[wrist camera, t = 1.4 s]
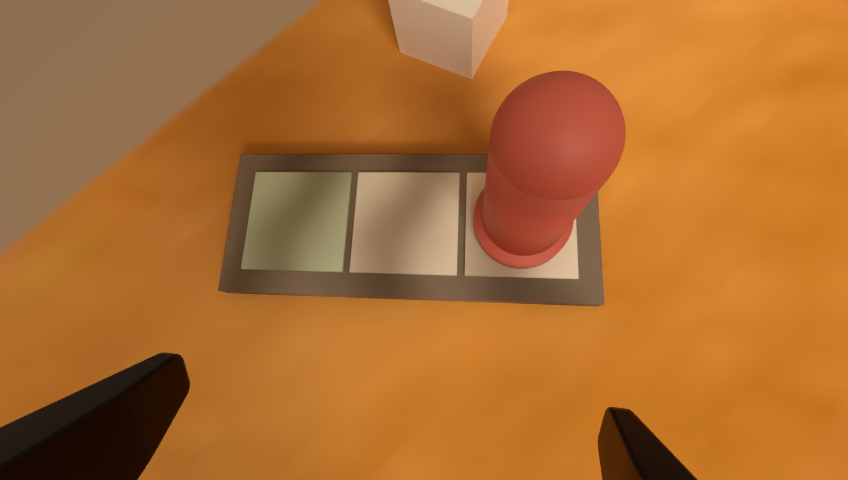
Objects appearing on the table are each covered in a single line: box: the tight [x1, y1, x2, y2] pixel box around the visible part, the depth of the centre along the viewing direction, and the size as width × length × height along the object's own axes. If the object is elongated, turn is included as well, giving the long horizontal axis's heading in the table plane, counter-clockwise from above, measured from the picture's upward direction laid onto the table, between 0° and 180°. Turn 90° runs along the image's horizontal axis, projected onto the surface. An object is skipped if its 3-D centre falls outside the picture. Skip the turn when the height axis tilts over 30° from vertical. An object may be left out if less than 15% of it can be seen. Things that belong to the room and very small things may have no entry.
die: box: [388, 0, 509, 80], centre depth 24 cm, size 5×5×5 cm
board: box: [218, 154, 604, 306], centre depth 23 cm, size 20×8×1 cm, turn 87°
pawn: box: [473, 71, 625, 269], centre depth 17 cm, size 5×5×11 cm
